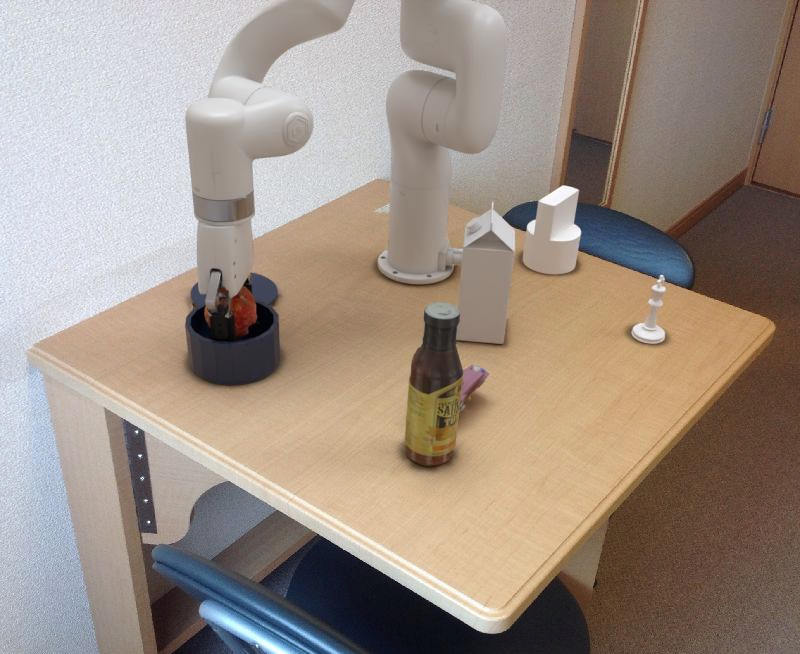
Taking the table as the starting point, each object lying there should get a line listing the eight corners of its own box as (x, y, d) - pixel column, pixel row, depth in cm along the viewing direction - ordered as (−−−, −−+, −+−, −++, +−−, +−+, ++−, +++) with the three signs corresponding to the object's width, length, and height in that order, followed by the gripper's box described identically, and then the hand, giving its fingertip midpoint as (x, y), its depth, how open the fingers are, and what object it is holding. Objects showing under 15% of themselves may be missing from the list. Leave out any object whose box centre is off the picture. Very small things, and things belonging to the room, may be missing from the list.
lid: (277, 276, 148) (275, 236, 144) (278, 318, 137) (276, 276, 133) (193, 278, 146) (189, 237, 142) (188, 320, 136) (183, 277, 132)
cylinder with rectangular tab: (538, 245, 161) (547, 180, 154) (584, 260, 157) (596, 194, 150) (512, 263, 155) (521, 196, 148) (560, 279, 151) (571, 211, 144)
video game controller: (439, 436, 118) (464, 405, 113) (412, 413, 118) (437, 381, 114) (475, 400, 125) (501, 369, 120) (450, 377, 125) (474, 346, 120)
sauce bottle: (440, 475, 109) (452, 332, 98) (394, 457, 112) (401, 316, 100) (464, 446, 114) (479, 307, 103) (420, 429, 117) (429, 291, 105)
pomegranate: (235, 328, 131) (179, 306, 123) (264, 288, 129) (208, 263, 121) (256, 359, 126) (199, 337, 119) (287, 317, 124) (231, 293, 117)
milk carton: (503, 320, 140) (518, 203, 128) (503, 345, 134) (518, 224, 123) (457, 316, 140) (467, 199, 129) (454, 341, 134) (465, 220, 123)
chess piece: (670, 335, 138) (685, 276, 132) (654, 347, 135) (668, 287, 129) (642, 323, 141) (655, 264, 135) (625, 334, 138) (637, 275, 132)
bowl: (279, 335, 134) (278, 295, 130) (281, 384, 123) (279, 343, 120) (192, 337, 132) (188, 297, 128) (186, 387, 122) (182, 345, 118)
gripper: (216, 173, 122) (225, 291, 132) (170, 229, 108) (185, 355, 118) (271, 179, 121) (276, 296, 131) (233, 235, 107) (242, 362, 117)
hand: (233, 324), depth 124 cm, fingers closed on pomegranate, 7 cm apart
